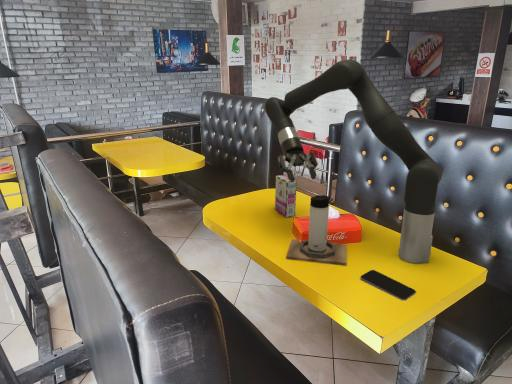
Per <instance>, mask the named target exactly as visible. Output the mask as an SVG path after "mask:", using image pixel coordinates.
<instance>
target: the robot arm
mask: <svg viewBox="0 0 512 384" xmlns="http://www.w3.org/2000/svg"><path fill="white" fill-rule="evenodd" d="M340 90H349V91H350V92H351V94H352V95H353V96H354V98H355V99H356V100H357V101H358V102H359V105H360V107H361V111H362V113H363V114H362V115H363V118H364V120H365V123H366V124H367V126H368V128H369V129H370V131H371V132H372V133H373V135H374V136H375V137H376V138H377V139H378V141H379V142H380V143H382V144H383V145H384V146H385V147H386V148H388V149H389V150H391V152H393V153H394V154H396V156H398V157H399V159H400V160H401V161H402V162H403V164H404V165H405V167H406V168H407V169H408V172H407V176H406V179H405V187H404V188H405V189H404V197H403V198H404V208H403V209H404V210H403V216H402V224H401V232H400V240H399V247H398V255H397V256H398V257H399V258H400V259H401V260H403V262H404V261H405V262H408V263H411V264H425V263H429V262H430V256H431V251H432V245H433V239H434V236H433V234H432V233H433V232H432V231H433V225H434V219H435V214H436V207H437V205H436V200H437V193H438V187H439V183H440V182H441V180H442V178H443V172H442V169H441V167H440V166H439V163H437V162H436V161H435V160H434V158H432V157H431V156H430V155H429V154H428V153H427V152H426V150H424V149H423V148H422V146H421V145H420V144H419V143H418V141H417V140H416V139H415V136H414V135H413V134H412V133H411V131H410V130H409V128H408V127H407V126H406V124H405V123H404V121H403V120H402V119H401V117H400V116H399V115H398V114H397V113H396V111H395V109H393V108H392V106H391V105H390V104H389V103H388V101H387V100H386V98H385V97H384V96H383V95H382V94H381V93H380V91H379V90H378V89H377V88H376V86H375V85H374V83H373V82H372V80H371V78H370V76H369V75H368V73H367V72H366V70H365V69H364V67H363V65H362V64H361V63H360V62H359V61H357V60H355V59H344V60H339V61H337V62H335V63H334V64H333V65H332V66H330V67H329V68H328V69H326V70H325V71H324V72H322V73H321V74H320V75H318V76H317V77H315V78H314V79H312V80H310V81H307V82H306V83H304V84H301V85H299V86H298V87H296V88H294V89H291V90H290V91H288V92H286V94H285V96H284V99H281V98H278V97H274V96H271V97H269V98H268V99H267V100H266V101H265V104H264V110H265V113H266V116H267V117H268V119H269V121H270V122H271V124H272V125H273V126H274V128H275V131H276V134H277V138H278V141H279V144H280V148H281V150H282V153H283V154H279V156H278V157H277V163H278V166H279V170H280V172H281V173H286V176H288V178H289V180H291V182H293V181H294V180H296V179H295V175H294V172H293V170H292V167H294V168H296V167H303V168H305V169H307V170H308V172H309V176H310V178H311V180H315V179H316V177H317V172H316V170H315V169H316V168H317V167H318V165H319V164H318V161H317V160H316V157H315V154H314V153H313V151H309V153H305V151H304V147H303V143H302V142H301V139H300V136H299V133H298V131H297V130H296V126H295V124H294V122H293V120H292V118H291V117H290V116H291V115H292V114H293V113H294V112H295V111H297V110H298V109H300V108H302V107H304V106H306V105H309V104H311V103H312V102H314V101H315V100H316V99H318V98H319V97H322V96H323V95H325V94H328V93H331V92H332V93H333V92H336V91H340ZM285 161H286V162H287V163H288V165H287V166H286V162H285Z"/></svg>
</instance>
